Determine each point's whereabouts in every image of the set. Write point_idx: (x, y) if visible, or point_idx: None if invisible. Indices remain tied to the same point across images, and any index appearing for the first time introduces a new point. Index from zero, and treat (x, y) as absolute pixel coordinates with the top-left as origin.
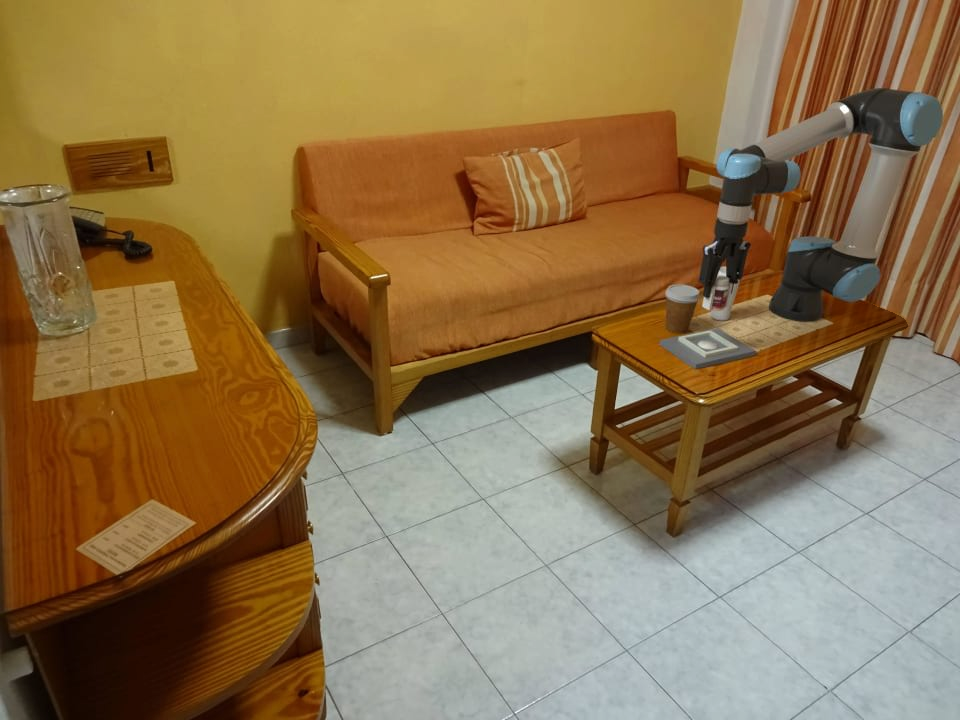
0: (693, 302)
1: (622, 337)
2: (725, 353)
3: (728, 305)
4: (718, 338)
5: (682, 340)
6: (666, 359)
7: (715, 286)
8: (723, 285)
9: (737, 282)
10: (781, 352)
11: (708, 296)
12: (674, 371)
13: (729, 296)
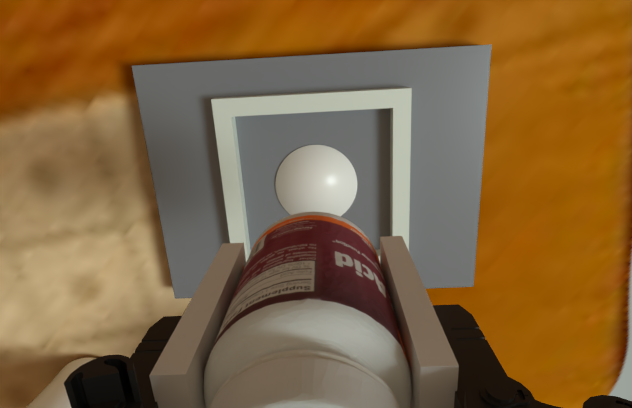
0: None
1: (551, 362)
2: (290, 90)
3: (51, 404)
4: (243, 208)
5: (407, 242)
6: (529, 164)
7: (396, 383)
8: (329, 352)
9: (85, 369)
10: (3, 52)
11: (445, 313)
12: (578, 61)
13: (205, 286)
